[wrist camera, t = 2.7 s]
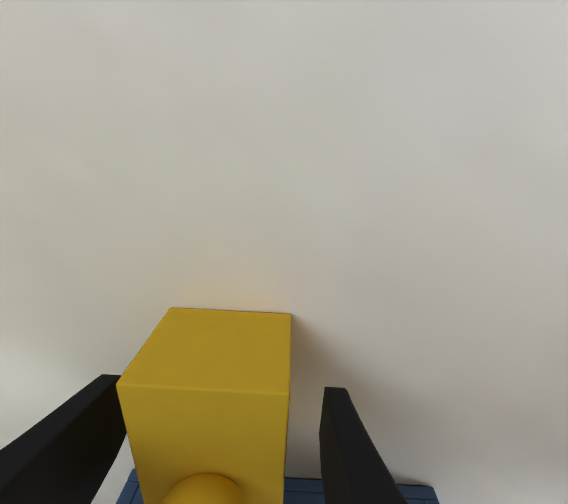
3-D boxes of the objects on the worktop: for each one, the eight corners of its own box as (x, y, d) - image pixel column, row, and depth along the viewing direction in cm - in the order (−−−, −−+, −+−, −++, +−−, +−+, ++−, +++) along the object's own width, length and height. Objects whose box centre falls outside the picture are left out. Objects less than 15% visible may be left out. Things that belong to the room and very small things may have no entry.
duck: (291, 313, 9) (287, 520, 4) (284, 436, 12) (276, 668, 7) (169, 306, 10) (27, 504, 4) (185, 430, 12) (103, 656, 7)
